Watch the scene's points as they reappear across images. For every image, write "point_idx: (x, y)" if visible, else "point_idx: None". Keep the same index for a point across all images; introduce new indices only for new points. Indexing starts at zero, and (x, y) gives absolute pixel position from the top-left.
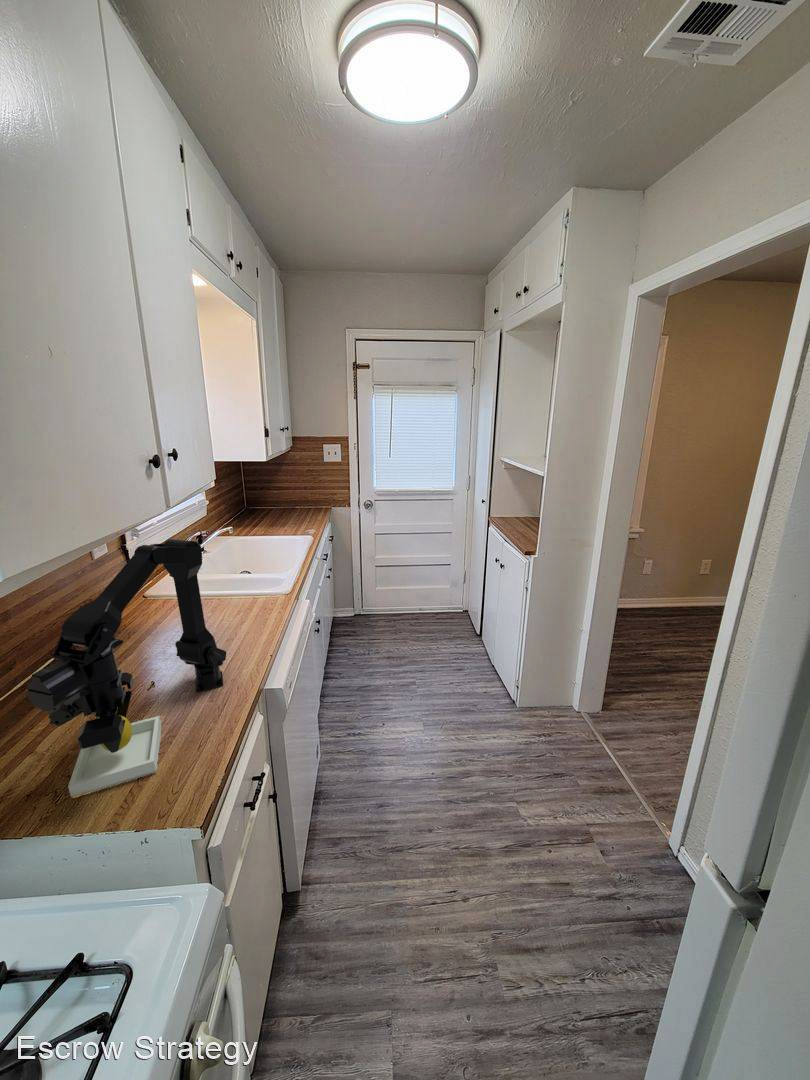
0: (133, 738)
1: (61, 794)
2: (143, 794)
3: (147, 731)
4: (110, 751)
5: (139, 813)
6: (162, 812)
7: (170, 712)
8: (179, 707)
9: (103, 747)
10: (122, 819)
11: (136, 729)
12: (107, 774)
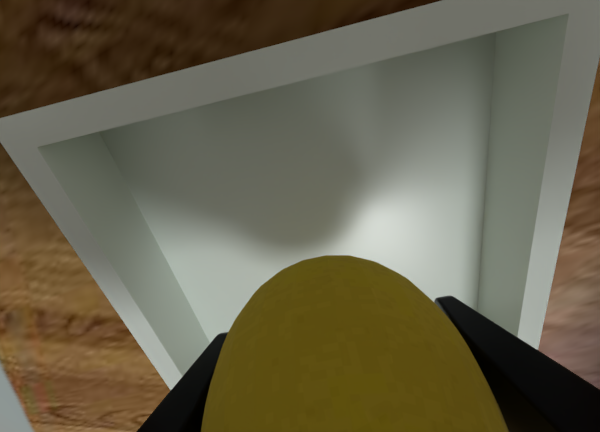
0: (446, 258)
1: (102, 20)
2: (127, 359)
3: (470, 302)
4: (205, 349)
5: (55, 368)
6: (68, 411)
7: (576, 334)
8: (590, 355)
9: (244, 306)
10: (23, 335)
11: (496, 280)
12: (118, 305)
